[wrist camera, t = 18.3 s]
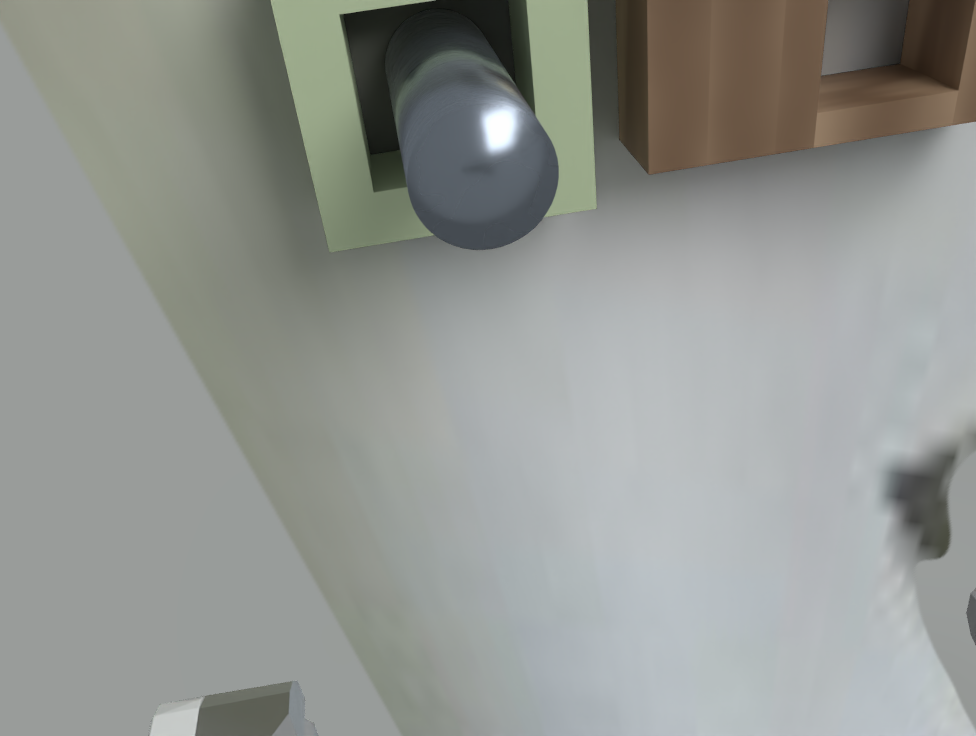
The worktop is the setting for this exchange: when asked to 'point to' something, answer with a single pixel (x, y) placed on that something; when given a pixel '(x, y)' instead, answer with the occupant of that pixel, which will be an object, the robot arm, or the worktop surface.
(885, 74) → the socket block
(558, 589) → the worktop surface
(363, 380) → the worktop surface
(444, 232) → the peg
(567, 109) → the square ring
